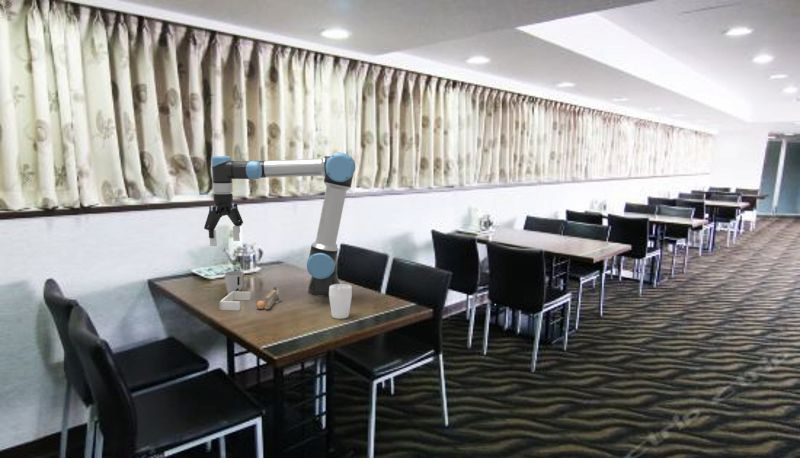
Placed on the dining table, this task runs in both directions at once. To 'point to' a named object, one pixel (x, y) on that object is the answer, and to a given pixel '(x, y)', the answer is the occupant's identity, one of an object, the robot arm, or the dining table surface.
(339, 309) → the cup
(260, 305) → the ball
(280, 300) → the pivot base
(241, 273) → the cup
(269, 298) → the tan wooden bar
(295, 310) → the dining table surface
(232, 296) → the white u-shaped bracket
